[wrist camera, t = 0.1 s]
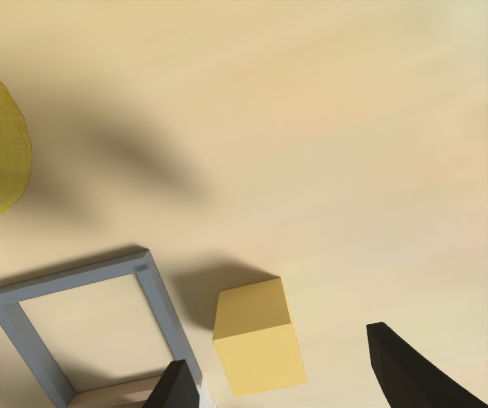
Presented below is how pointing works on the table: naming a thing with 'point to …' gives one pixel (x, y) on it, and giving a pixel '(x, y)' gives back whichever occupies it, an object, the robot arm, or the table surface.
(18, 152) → the handbell
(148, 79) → the table surface
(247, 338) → the ochre block
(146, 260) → the sorting board
